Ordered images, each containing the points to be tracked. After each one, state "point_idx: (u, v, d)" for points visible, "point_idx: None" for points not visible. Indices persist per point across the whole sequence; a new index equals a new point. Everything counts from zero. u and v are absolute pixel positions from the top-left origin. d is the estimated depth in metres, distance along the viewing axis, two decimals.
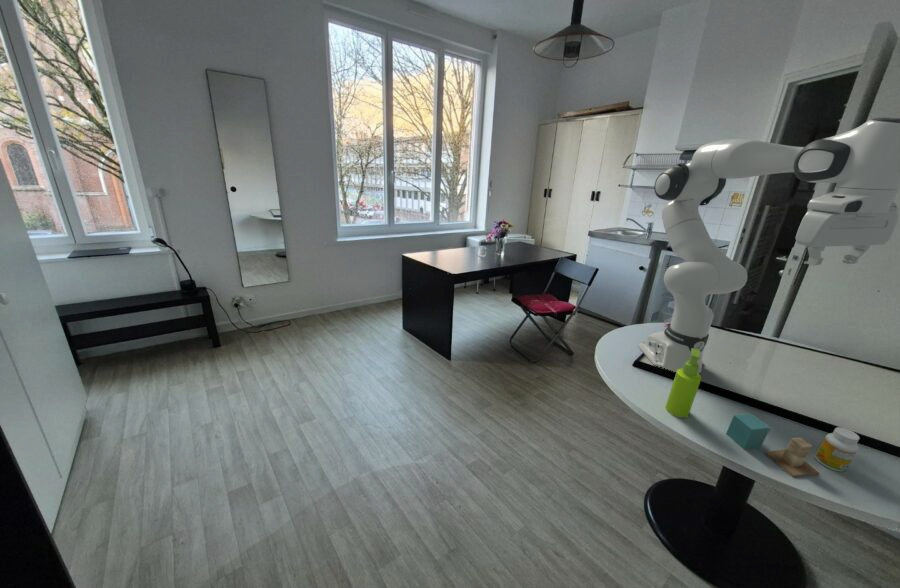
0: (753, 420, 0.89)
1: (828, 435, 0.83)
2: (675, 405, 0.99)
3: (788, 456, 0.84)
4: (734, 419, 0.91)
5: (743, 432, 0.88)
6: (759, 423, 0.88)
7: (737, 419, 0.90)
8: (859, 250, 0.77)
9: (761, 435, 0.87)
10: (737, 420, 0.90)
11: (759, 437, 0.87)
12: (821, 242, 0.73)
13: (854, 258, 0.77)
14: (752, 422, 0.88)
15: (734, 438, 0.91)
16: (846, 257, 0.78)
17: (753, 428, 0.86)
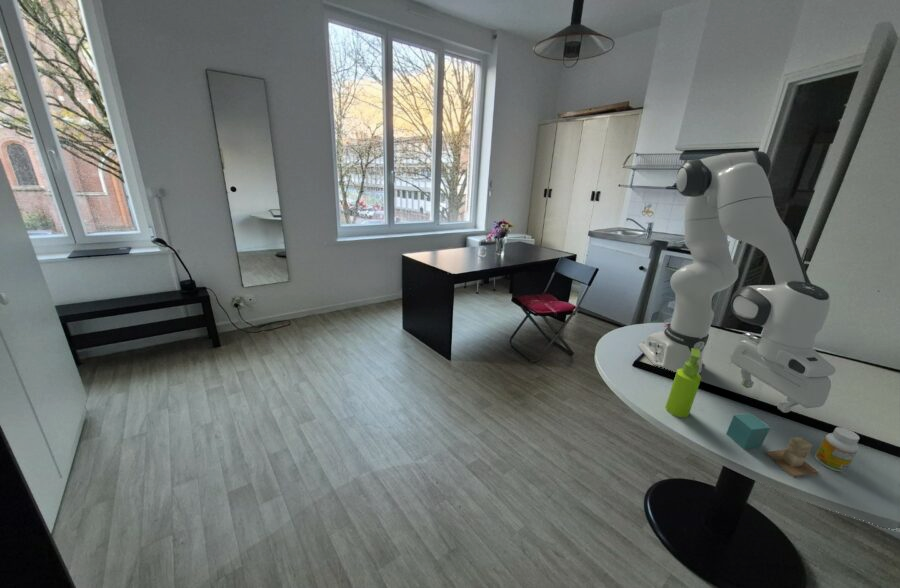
0: (753, 420, 0.89)
1: (828, 435, 0.83)
2: (675, 405, 0.99)
3: (788, 456, 0.84)
4: (734, 419, 0.91)
5: (743, 432, 0.88)
6: (759, 423, 0.88)
7: (737, 419, 0.90)
8: (748, 374, 0.89)
9: (761, 435, 0.87)
10: (737, 420, 0.90)
11: (759, 437, 0.87)
12: None
13: None
14: (752, 422, 0.88)
15: (734, 438, 0.91)
16: (748, 384, 0.88)
17: (753, 428, 0.86)
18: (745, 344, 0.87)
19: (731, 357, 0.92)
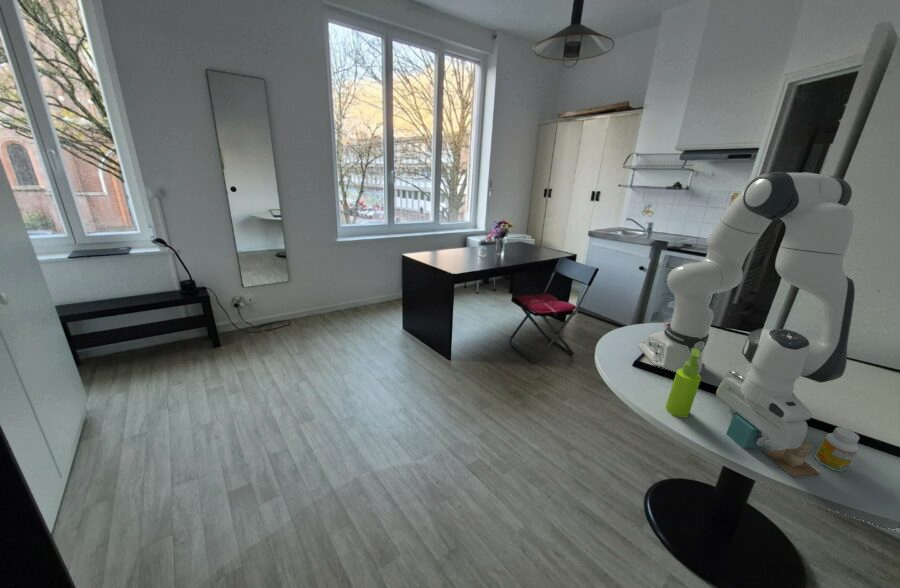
0: None
1: (828, 435, 0.83)
2: (675, 405, 0.99)
3: (788, 456, 0.84)
4: (734, 419, 0.91)
5: (743, 432, 0.88)
6: None
7: (737, 419, 0.90)
8: (737, 413, 0.93)
9: (761, 435, 0.87)
10: (737, 420, 0.90)
11: None
12: None
13: None
14: None
15: (734, 438, 0.91)
16: None
17: (753, 428, 0.86)
18: (730, 382, 0.92)
19: (717, 392, 0.96)
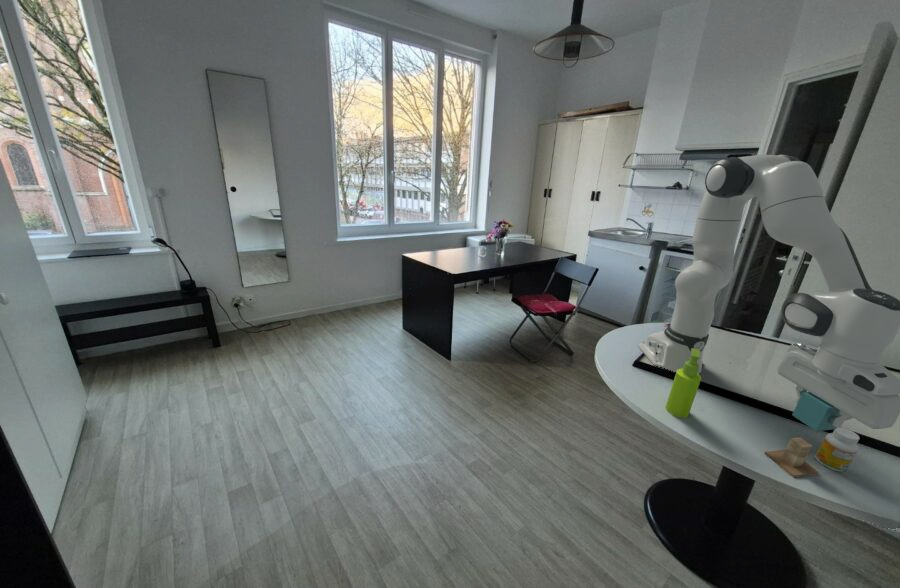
0: None
1: (828, 435, 0.83)
2: (675, 405, 0.99)
3: (788, 456, 0.84)
4: (803, 397, 0.79)
5: (815, 411, 0.76)
6: None
7: (807, 397, 0.78)
8: (804, 391, 0.81)
9: (838, 415, 0.75)
10: (807, 398, 0.78)
11: None
12: None
13: None
14: None
15: (803, 419, 0.79)
16: None
17: (829, 406, 0.74)
18: (796, 355, 0.80)
19: (779, 369, 0.84)
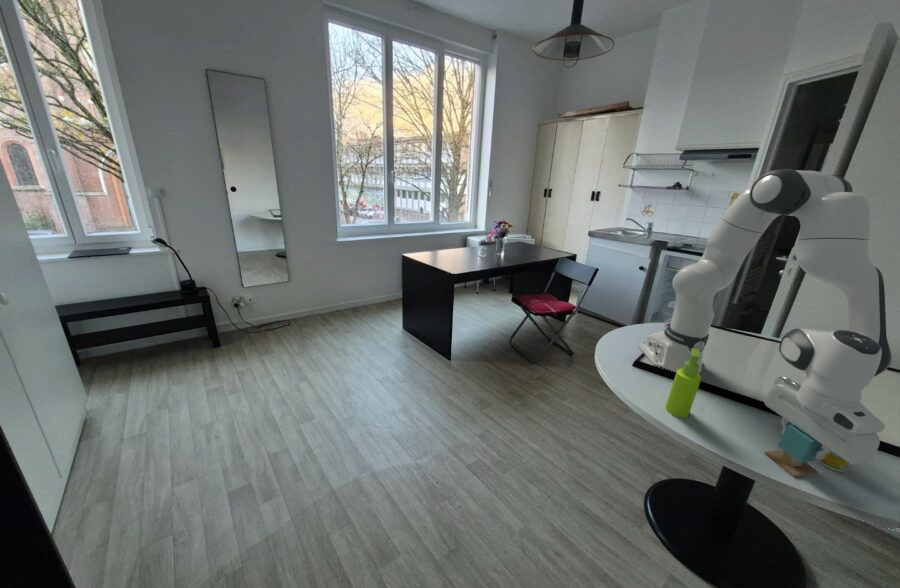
0: None
1: None
2: (675, 405, 0.99)
3: (788, 456, 0.84)
4: (787, 430, 0.82)
5: (799, 444, 0.80)
6: None
7: (792, 430, 0.82)
8: (789, 423, 0.85)
9: (820, 448, 0.79)
10: (792, 431, 0.82)
11: None
12: None
13: None
14: None
15: (788, 451, 0.83)
16: None
17: (812, 440, 0.78)
18: (782, 389, 0.84)
19: (765, 400, 0.88)
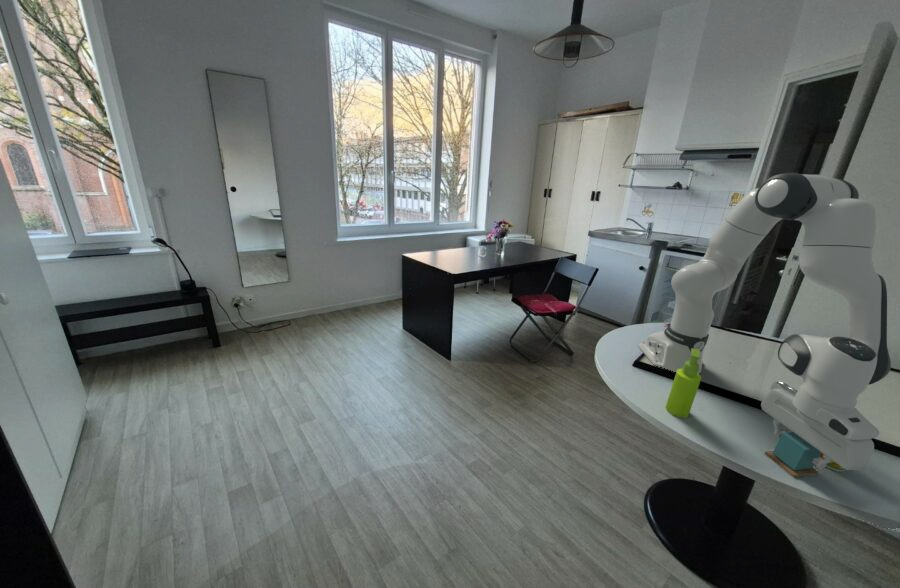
0: None
1: None
2: (675, 405, 0.99)
3: None
4: (782, 437, 0.84)
5: (793, 452, 0.81)
6: None
7: (786, 438, 0.83)
8: (781, 424, 0.86)
9: (814, 456, 0.80)
10: (786, 439, 0.83)
11: (812, 458, 0.80)
12: None
13: None
14: (803, 441, 0.81)
15: (782, 458, 0.84)
16: (781, 434, 0.86)
17: (806, 448, 0.79)
18: (778, 394, 0.85)
19: (762, 404, 0.89)
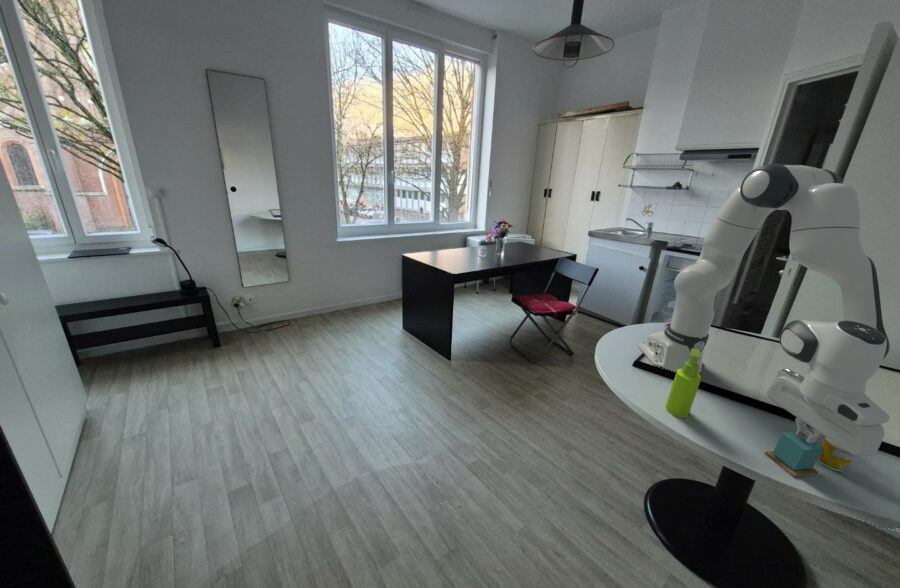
0: None
1: None
2: (675, 405, 0.99)
3: None
4: (782, 437, 0.84)
5: (793, 452, 0.81)
6: None
7: (786, 438, 0.83)
8: (803, 423, 0.81)
9: (814, 456, 0.80)
10: (786, 439, 0.83)
11: (812, 458, 0.80)
12: None
13: None
14: (803, 441, 0.81)
15: (782, 458, 0.84)
16: (805, 434, 0.81)
17: (806, 448, 0.79)
18: (785, 381, 0.83)
19: (768, 393, 0.87)
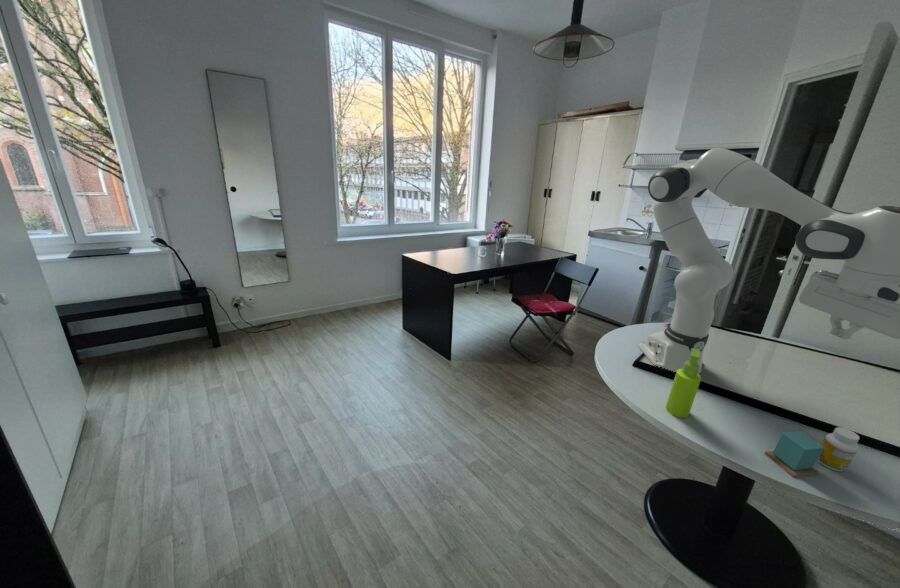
0: (804, 439, 0.82)
1: (828, 435, 0.83)
2: (675, 405, 0.99)
3: None
4: (782, 437, 0.84)
5: (793, 452, 0.81)
6: (811, 442, 0.81)
7: (786, 438, 0.83)
8: (838, 321, 0.81)
9: (814, 456, 0.80)
10: (786, 439, 0.83)
11: (812, 458, 0.80)
12: None
13: None
14: (803, 441, 0.81)
15: (782, 458, 0.84)
16: (840, 331, 0.80)
17: (806, 448, 0.79)
18: (819, 281, 0.83)
19: (801, 297, 0.87)
